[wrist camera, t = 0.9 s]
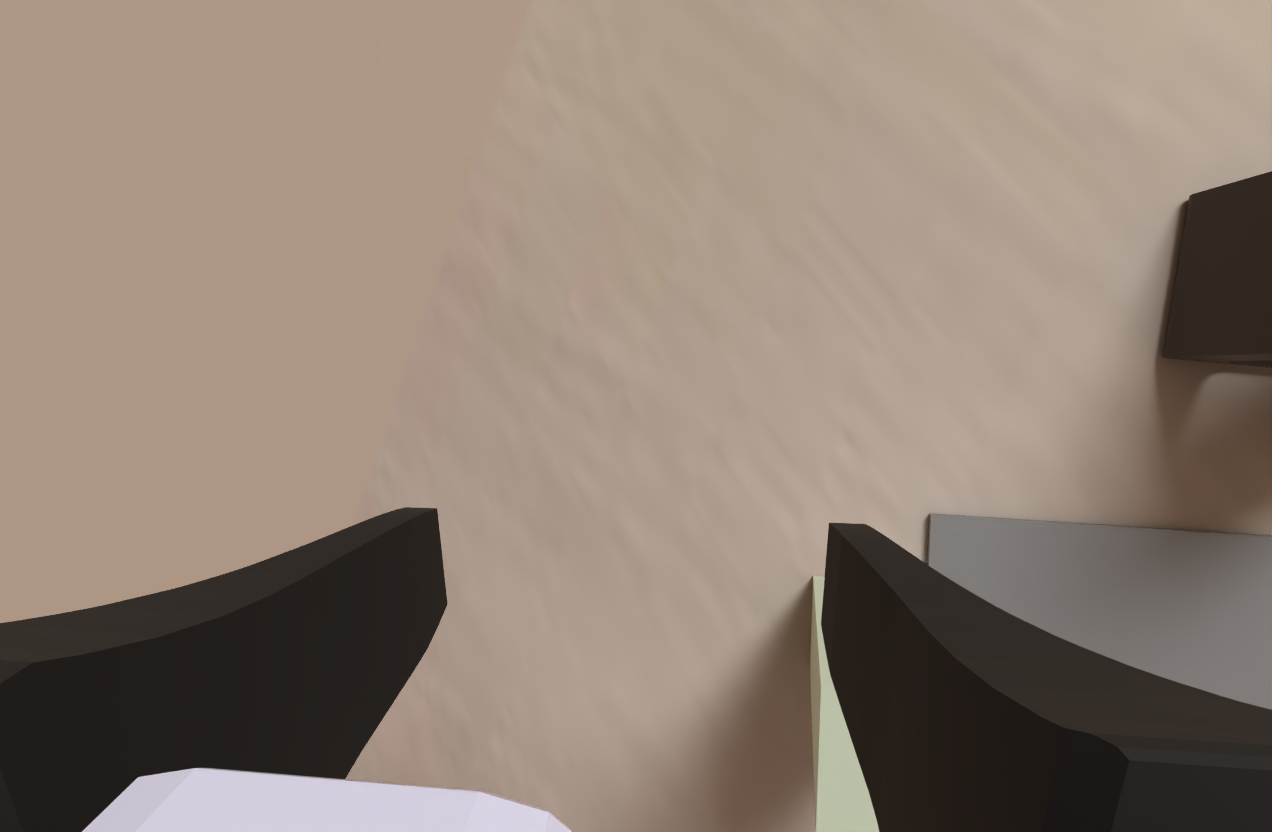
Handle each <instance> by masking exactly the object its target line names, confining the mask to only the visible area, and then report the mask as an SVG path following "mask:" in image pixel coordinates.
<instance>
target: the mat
mask: <svg viewBox="0 0 1272 832" xmlns="http://www.w3.org/2000/svg"><path fill="white" fill-rule="evenodd" d="M927 565H929V566H930V567H932V568H933V569H935V570H936V571H938V572H939V573H941V574H942V575H944V576H945V577H947V578H949V579H950V580H952V581H953V582H955V583H957V584H958V585H960V586H962V587H963V588H965V589H967V590H968V591H970V592H972V593H974V594H975V595H977V596H979V597H980V598H982V599H984V600H986V601H987V602H989V603H991V604H993V605H994V606H996V607H998V608H1000V609H1002V610H1004V611H1006V612H1008V613H1010V614H1011V615H1014V616H1016V617H1018V618H1020V619H1022V620H1024V621H1026V622H1028V623H1030V624H1032V625H1034V626H1036V627H1038V628H1040V629H1042V630H1044V631H1047V632H1049V633H1051V634H1053V635H1055V636H1057V637H1060V638H1062V639H1064V640H1067V641H1069V642H1071V643H1074V644H1076V645H1078V646H1081V647H1083V648H1086V649H1088V650H1091V651H1093V652H1096V653H1098V654H1101V655H1104V656H1106V657H1109V658H1111V659H1114V660H1116V661H1119V662H1121V663H1124V664H1126V665H1129V666H1132V667H1135V668H1138V669H1140V670H1143V671H1146V672H1149V673H1152V674H1155V675H1158V676H1160V677H1163V678H1166V679H1169V680H1172V681H1175V682H1179V683H1182V684H1185V685H1188V686H1191V687H1194V688H1198V689H1201V690H1204V691H1207V692H1210V693H1213V694H1217V695H1220V696H1223V697H1226V698H1230V699H1233V700H1237V701H1240V702H1244V703H1248V704H1252V705H1255V706H1259V707H1263V708H1267V709H1271V710H1272V536H1267V535H1251V534H1236V533H1221V532H1205V531H1190V530H1175V529H1159V528H1144V527H1129V526H1113V525H1098V524H1083V523H1067V522H1052V521H1037V520H1021V519H1006V518H991V517H975V516H960V515H945V514H930V515H929V540H928V564H927Z"/></svg>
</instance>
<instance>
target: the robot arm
mask: <svg viewBox="0 0 1272 832" xmlns="http://www.w3.org/2000/svg"><path fill="white" fill-rule="evenodd" d="M446 606H447V596H446V587H445V578H444V569H443V559H442V550H441V541H440V532H439V522H438V513H437V509H435V508H407V507H406V508H402V509H397V510H394V511H391V512H388V513H385V514H382V515H379V516H376V517H374V518H371V519H368V520H366V521H363V522H361V523H358V524H356V525H353V526H351V527H348V528H346V529H343V530H341V531H339V532H336V533H334V534H331V535H329V536H327V537H324V538H322V539H319V540H316V541H314V542H312V543H309V544H307V545H304V546H301V547H299V548H296V549H293V550H290V551H288V552H285V553H283V554H280V555H277V556H275V557H272V558H269V559H267V560H264V561H261V562H259V563H256V564H253V565H250V566H247V567H244V568H242V569H239V570H236V571H233V572H229V573H226V574H223V575H220V576H217V577H213V578H210V579H207V580H203V581H200V582H196V583H193V584H189V585H186V586H183V587H179V588H175V589H171V590H167V591H163V592H159V593H154V594H151V595H146V596H142V597H137V598H133V599H129V600H125V601H120V602H116V603H112V604H108V605H103V606H98V607H94V608H88V609H83V610H77V611H72V612H67V613H62V614H56V615H50V616H44V617H38V618H32V619H26V620H20V621H13V622H7V623H0V832H573V831H572V830H570V829H569V828H568V827H567V826H566V825H565V824H563V823H562V822H561V821H560V820H559V819H557V818H556V817H555V816H554V815H553V814H551V813H550V812H549V811H548V810H547V809H544V808H541V807H537V806H534V805H530V804H527V803H524V802H520V801H517V800H514V799H510V798H507V797H503V796H500V795H497V794H493V793H490V792H487V791H478V790H466V789H454V788H442V787H430V786H418V785H406V784H394V783H382V782H370V781H358V780H346V779H345V778H346V777H347V775H348V773H349V771H350V770H351V768H352V766H353V765H354V763H355V761H356V760H357V758H358V756H359V755H360V753H361V751H362V750H363V748H364V747H365V745H366V744H367V742H368V740H369V739H370V737H371V736H372V734H373V733H374V731H375V730H376V728H377V727H378V725H379V724H380V722H381V720H382V719H383V717H384V716H385V714H386V713H387V711H388V710H389V708H390V707H391V705H392V704H393V702H394V700H395V699H396V697H397V696H398V694H399V693H400V691H401V690H402V688H403V687H404V685H405V684H406V682H407V680H408V679H409V677H410V676H411V674H412V673H413V671H414V669H415V668H416V666H417V665H418V663H419V661H420V660H421V658H422V657H423V655H424V653H425V652H426V650H427V648H428V646H429V644H430V642H431V640H432V638H433V636H434V634H435V631H436V629H437V627H438V625H439V622H440V620H441V618H442V615H443V613H444V611H445V608H446ZM821 627H822V633H823V639H824V645H825V651H826V656H827V661H828V666H829V671H830V675H831V679H832V682H833V685H834V688H835V691H836V694H837V697H838V701H839V704H840V707H841V710H842V713H843V716H844V719H845V722H846V725H847V728H848V731H849V734H850V737H851V740H852V743H853V746H854V749H855V752H856V755H857V758H858V761H859V764H860V767H861V770H862V773H863V776H864V779H865V782H866V785H867V788H868V791H869V795H870V798H871V802H872V805H873V809H874V813H875V816H876V820H877V824H878V828H879V832H1272V710H1271V709H1267V708H1263V707H1259V706H1255V705H1252V704H1248V703H1244V702H1240V701H1237V700H1233V699H1230V698H1226V697H1223V696H1220V695H1217V694H1213V693H1210V692H1207V691H1204V690H1201V689H1198V688H1194V687H1191V686H1188V685H1185V684H1182V683H1179V682H1175V681H1172V680H1169V679H1166V678H1163V677H1160V676H1158V675H1155V674H1152V673H1149V672H1146V671H1143V670H1140V669H1138V668H1135V667H1132V666H1129V665H1126V664H1124V663H1121V662H1119V661H1116V660H1114V659H1111V658H1109V657H1106V656H1104V655H1101V654H1098V653H1096V652H1093V651H1091V650H1088V649H1086V648H1083V647H1081V646H1078V645H1076V644H1074V643H1071V642H1069V641H1067V640H1064V639H1062V638H1060V637H1057V636H1055V635H1053V634H1051V633H1049V632H1047V631H1044V630H1042V629H1040V628H1038V627H1036V626H1034V625H1032V624H1030V623H1028V622H1026V621H1024V620H1022V619H1020V618H1018V617H1016V616H1014V615H1011V614H1010V613H1008V612H1006V611H1004V610H1002V609H1000V608H998V607H996V606H994V605H993V604H991V603H989V602H987V601H986V600H984V599H982V598H980V597H979V596H977V595H975V594H974V593H972V592H970V591H968V590H967V589H965V588H963V587H962V586H960V585H958V584H957V583H955V582H953V581H952V580H950V579H949V578H947V577H945V576H944V575H942V574H941V573H939V572H938V571H936V570H935V569H933V568H932V567H930V566H929V565H927V564H925V563H924V562H922V561H921V560H920V559H918V558H917V557H915V556H914V555H912V554H911V553H909V552H908V551H906V550H905V549H903V548H902V547H900V546H899V545H898V544H896V543H895V542H893V541H892V540H890V539H889V538H887V537H886V536H884V535H883V534H881V533H880V532H878V531H876V530H875V529H873V528H871V527H870V526H868V525H866V524H847V523H829V531H828V543H827V555H826V568H825V580H824V592H823V604H822V616H821Z"/></svg>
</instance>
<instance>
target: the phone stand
mask: <svg viewBox="0 0 1272 832" xmlns="http://www.w3.org/2000/svg"><path fill="white" fill-rule="evenodd" d="M1163 357H1164V358H1172V359H1183V360H1194V361H1205V362H1216V363H1227V364H1238V365H1249V366H1260V367H1271V368H1272V172H1268V173H1265V174H1261V175H1258V176H1254V177H1251V178H1247V179H1244V180H1240V181H1237V182H1233V183H1230V184H1227V185H1223V186H1220V187H1216V188H1213V189H1209V190H1206V191H1202V192H1199V193H1195V194H1192V195H1190V197H1189V203H1188V209H1187V215H1186V221H1185V227H1184V233H1183V239H1182V245H1181V251H1180V257H1179V263H1178V269H1177V275H1176V281H1175V288H1174V294H1173V300H1172V306H1171V312H1170V318H1169V324H1168V330H1167V336H1166V342H1165V348H1164V354H1163Z"/></svg>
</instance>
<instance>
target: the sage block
mask: <svg viewBox="0 0 1272 832" xmlns="http://www.w3.org/2000/svg"><path fill="white" fill-rule="evenodd" d="M824 580H825V577H824V576H813V594H812V623H811V651H810V684H811V712H812V741H813V770H814V799H815V828H816V832H879V828H878V824H877V820H876V816H875V813H874V809H873V805H872V802H871V798H870V795H869V791H868V788H867V785H866V782H865V779H864V776H863V773H862V770H861V767H860V764H859V761H858V758H857V755H856V752H855V749H854V746H853V743H852V740H851V737H850V734H849V731H848V728H847V725H846V722H845V719H844V716H843V713H842V710H841V707H840V704H839V701H838V697H837V694H836V691H835V688H834V685H833V682H832V679H831V675H830V671H829V666H828V661H827V656H826V651H825V645H824V639H823V633H822V627H821V616H822V604H823V592H824Z"/></svg>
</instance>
